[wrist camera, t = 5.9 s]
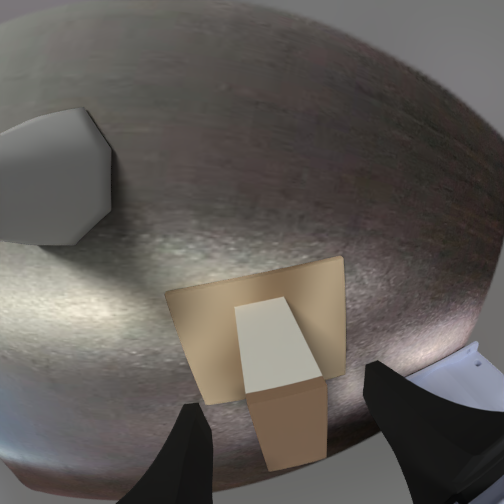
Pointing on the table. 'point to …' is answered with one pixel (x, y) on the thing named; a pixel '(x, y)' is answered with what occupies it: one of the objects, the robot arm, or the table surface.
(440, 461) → the robot arm
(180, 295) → the cork mat
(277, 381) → the cream slab
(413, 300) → the table surface
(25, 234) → the flask
